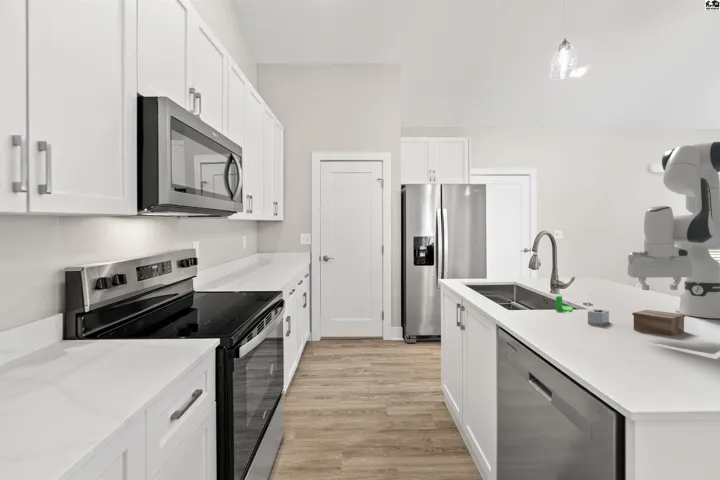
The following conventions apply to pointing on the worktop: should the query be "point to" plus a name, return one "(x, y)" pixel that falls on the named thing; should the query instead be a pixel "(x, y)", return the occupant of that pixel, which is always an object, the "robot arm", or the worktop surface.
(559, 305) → the mechanical part
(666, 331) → the walnut stand
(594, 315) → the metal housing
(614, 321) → the worktop surface
